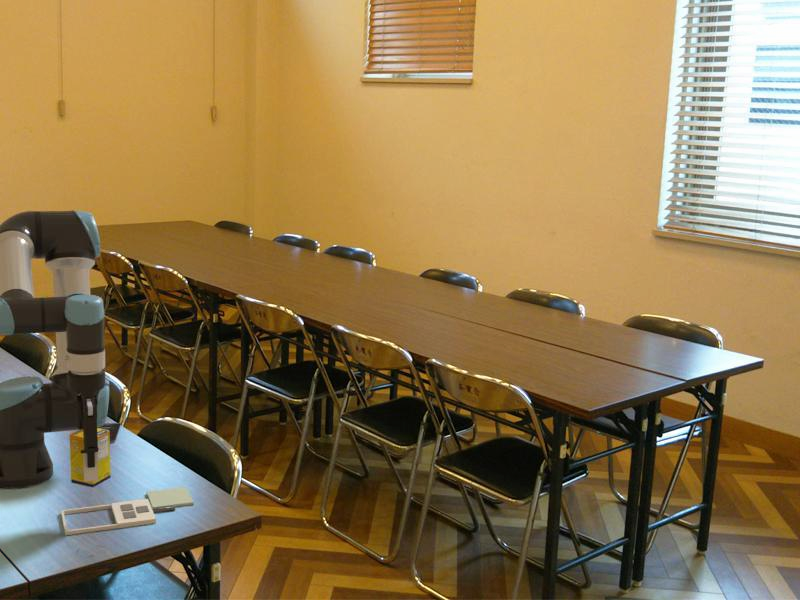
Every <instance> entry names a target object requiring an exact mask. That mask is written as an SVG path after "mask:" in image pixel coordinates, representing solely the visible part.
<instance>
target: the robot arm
mask: <svg viewBox="0 0 800 600" xmlns="http://www.w3.org/2000/svg"><path fill="white" fill-rule="evenodd" d="M100 241H101V240H100V235H99V230H98V225H97V222H96V219H95V217H94V215H93V214H92V213H91V212H89V211H79V210H75V209H74V210H73V209H72V210H53V211H52V210H42V211H41V210H40V211H37V210H36V211H34V210H27V211H22V212H18V213H16V214H14V215H12V216H10V217H9V218H6V220H4V221H3V222H1V224H0V335H1V336H12V335H13V336H14V335H27V334H44V333H45V334H46V333H50V334H51V333H55V345H56V346H55V347H56V360H57V361H56V363H57V368H56V369H55V371H54V372H53V373H52V374H51V375H50V376H51V382H49V383H44V381H43V380H42V379H41V377H38V376H29V375H27V376H19V377H15V378H10V379H7V380H4V381H2V382H0V488H1V489H20V488H27V487H31V486H32V487H33V486H37V485H39V484H42V483H44V482H46V481H47V480H50V479H51V478H52V476H53V475H54V463H53V461H52V458H51V456H50V453H49V450H48V448H47V446H46V444H45V434H46V433H47V434H48V433H57V432H69V431H71V432H72V431H79V430H81V429H83V437H84V450H81V454H82V453H83V461H84V482H88V481H97V480H98V462H97V452H98V450H99V448H98V436H97V428H98V427H101V426H103V425H104V423H106V421H107V417H108V410H109V401H110V381H109V379H107V378H106V371H105V370H104V369H105V368H106V348H105V313H106V312H105V307H104V299H102V297H100V296H99V295H98V296H97V295H94V294H91V281H90V278H91V277H90V270H91V269H92V268H93V267H94V266H95V265H96V261H95V260H96V259H98V258H100V256H101V252H102V251H101V243H100ZM33 259H36V260H37V259H44V264H45V267H46V268H47V269H48V270H49V271H51V273H52V274H51V275H52V286H53V287H52V288H53V289H52V290H53V296H51V297H50V296H49V297H48V296H47V297H46V296H45V297H43V296H42V297H41V296H40V297H35V291H34V290H35V289H34V288H35V287H34V279H33V270H32V260H33Z"/></svg>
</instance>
